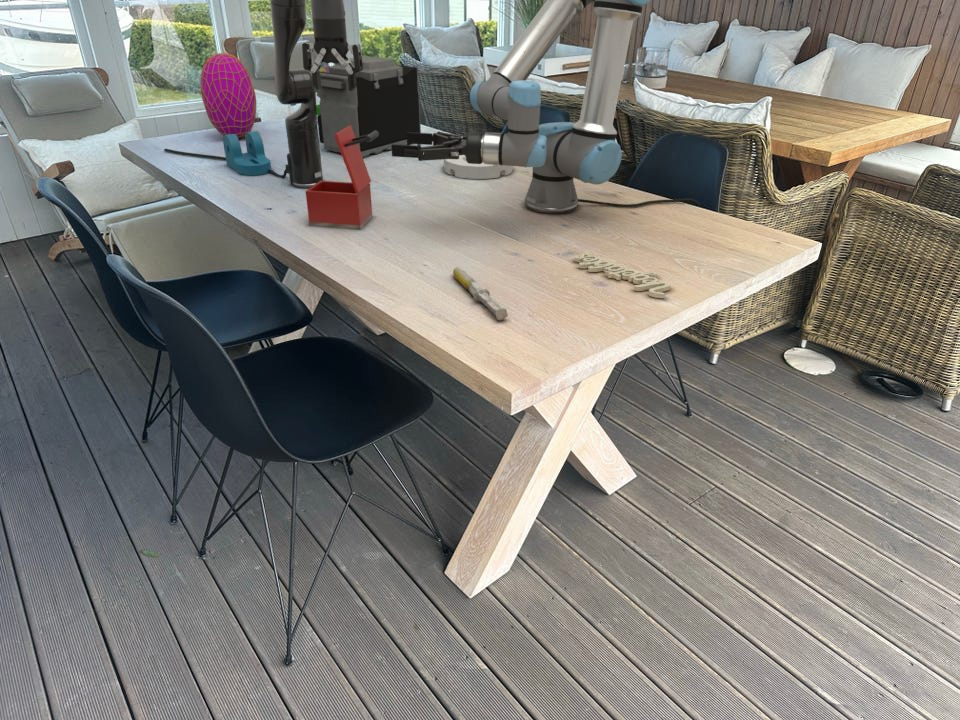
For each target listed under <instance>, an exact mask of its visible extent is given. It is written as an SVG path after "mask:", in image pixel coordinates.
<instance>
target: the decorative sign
mask: <svg viewBox="0 0 960 720" xmlns="http://www.w3.org/2000/svg"><path fill="white" fill-rule="evenodd" d="M574 262H575V263H578V269H588V270H587V272H588V273H598V272H603V273H604V276H606V277H607V278H608V279H614V280H617V281H621V279H622V280H627V281H628V282H630V283H633V284H634V285H633V291H636V292H643V291H647V290H648V293H647V294H648V296H649V297H652V298H656V299H664V298H665V295H666V292H668V291H669V290H670V289H671V283H670V282H668V281H659V279H658V272H657V271H648V272H639V271H637V270H634V269H630V268H628V267H627V266H626V267H625V266H624V265H619V264H618V263H615V262H611V261H610V260H604V258H601V257H598V256H596V255H592V254H590V253H587V252H586V253H582V254H581V255H580V256H578V255H575V256H574Z"/></svg>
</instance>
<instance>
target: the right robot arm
mask: <svg viewBox="0 0 960 720" xmlns="http://www.w3.org/2000/svg"><path fill="white" fill-rule="evenodd" d="M650 2H651V0H546V1H545V2H544V3H543V5H542V6H541V8H539V10H538V12H537V13H536V15H535V16H534V18H532V20H531V21H530V23H529V24H528V25H527V26H526V28H525V29H524V30H523V32H522V33H521V34H520V35H519V37H518V39H517V40H516V41H515V43H514V44H513V46H512V47H511V48H510V50H509V51H508V52H507V53H506V55H505V57H504V58H503V59H502V60H501V62H500V63H499V65H498V66H497V67H496V68H495V69H494V71H493V73H492V74H491V75H490V76H489V78H488V79H487V80H480V81H478V82H476V83H474V84H473V85H472V88H471V89H470V93H469V102H470V105H471V106H472V108H473V109H474V110H475V111H476V112H478V113H481V114H483V115H485V116H492V117H495V118H498V119H501V120H505V121H507V133H503V132H489V131H488V132H487V131H486V132H485V133H483V132H481V131H469V132H468V133H467V135H460V134H454V133H449V132H444V131H439V130H438V131H437V132H434V133H430V132H421V133H414V132H407V145H395V144H392V145H391V146H392V149H391V157H396V158H413V159H418V161H419V162H422V161H423V162H424V161H425V162H426V161H441V160H444V159H459V155H465V156H466V161H467V163H469V164H481V163H482V162H483V163H484V164H489V165H491V164H493V167H496V166H497V165H507V166H513V167H520V168H532V176H531V177H532V178H531V181H530V183H529V186H528V189H527V191H526V194H525V197H524V206H525V208H527V209H528V210H530V211H533V212H535V213H540V214H548V215H559V214H561V215H562V214H567V213H568V214H569V213H571V212H574V211H576V210H578V205H579V203H586V204H595V205H600V206H601V205H602V206H610V207H619V208H634V207H635V208H636V207H641V206H645V205H651V204H662V203H682V202H691V203H694V204H695V205H696V206H701V203H700V202H699V201H698V200H697V199H694V198H687V197H686V198H675V199H656V200H648V201H643V202H639V203H638V202H637V203H631V204H630V203H629V204H628V203H627V204H626V203H613V202H606V201H597V200H591V199H584V198H583V199H582V198H578V194H577V189H576V186H575V181H574V179H575V180H578V181H581V182H582V183H585V184H591V185H602V184H604V183H606V182H608V181H609V180H610V179H611V178H612V177H614V176H615V175H616V173H617V172H618V170H619V167H620V166H621V163H622V158H623V152H622V149H621V145H620V144H619V143H618V142H617V141H616V139H617V135H618V131H617V130H616V128H615V127H614V119H615V115H616V110H617V105H618V99H619V95H620V89H621V84H622V79H623V75H624V69H625V66H626V65H625V64H626V60H627V55H628V50H629V45H630V39H631V35H632V30H633V24H634V22H635V21H636V20H637V19H638V18H639V17H641V16H642V13H643V8H644V6H645V5H647V4H648V3H650ZM590 4H593V7H592V9H593V11H594V13H595V14H596V17H597V20H596V27H595V32H594V38H593V44H592V49H591V54H590V59H589V65H588V71H587V77H586V83H585V88H584V94H583V99H582V103H581V109H580V115H579V119H578V121H576V122H572V121H558V122H557V121H556V122H547V123H542V124H540V117H541V104H542V99H541V97H542V95H541V85H540V83H538V82H537V81H533V80H527V79H528V78H529V77H530V76H531V74H532V73H533V71H535V69H536V67H538V65H539V63H540V62H541V61H542V59H543V58H544V57H545V55H546V54H547V53H548V52H549V50H550V48H552V46H553V44H554V43H555V42H556V40H557V39H558V38H559V36H560V35H561V33H563V31H564V30H565V28H566V27H567V26H568V25H569V24H570V22H571V20H572V19H573V18H574V16H575V15H576V16H577V15H580V14H582V12H583V11H584V10H585V8H586V7H588V5H590ZM422 145H426V146H422ZM449 153H450V154H449Z"/></svg>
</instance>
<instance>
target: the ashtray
mask: <svg viewBox="0 0 960 720" xmlns="http://www.w3.org/2000/svg"><path fill="white" fill-rule="evenodd" d="M449 154H450V153H449ZM513 168H514V166H507V165H497V166H496V167H493V164H491V165H489V164H484V163H483V162H482V163H481V164H469V163H467V161H466V156H465V155H459V159H443V171H444V173H446V174H448V175H453V176H454V177H456V178H461V179H468V180H469V179H470V180H488V179H489V180H490V179H497V178H498V179H499V178H500V177H501V176H505V177H506V176H508V175H510V174H511V173H512V172H513V171H514V170H513Z"/></svg>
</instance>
